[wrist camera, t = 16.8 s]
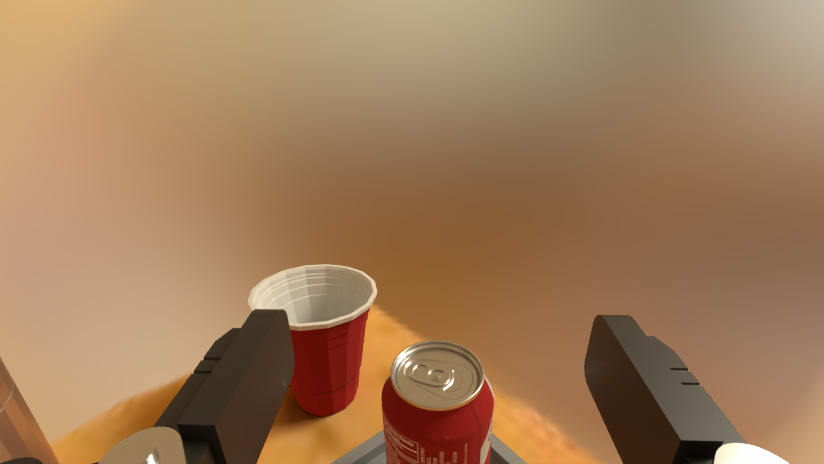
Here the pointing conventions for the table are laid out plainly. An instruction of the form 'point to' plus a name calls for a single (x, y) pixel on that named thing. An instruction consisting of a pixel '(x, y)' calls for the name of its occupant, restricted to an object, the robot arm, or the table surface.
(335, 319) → the plastic cup
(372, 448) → the serving tray
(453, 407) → the soda can
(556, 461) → the table surface
